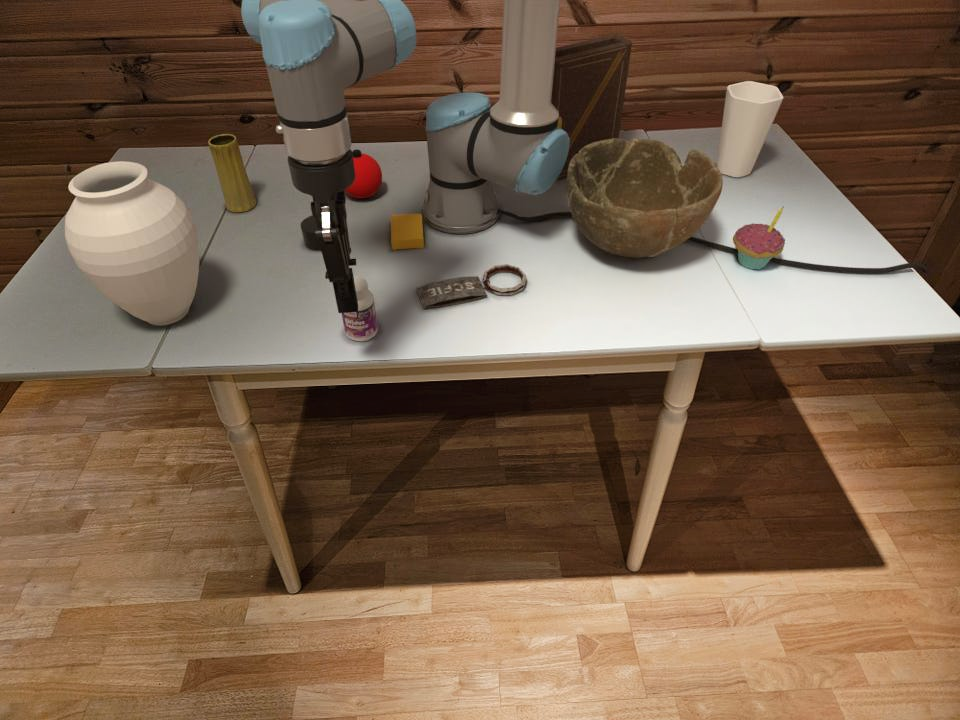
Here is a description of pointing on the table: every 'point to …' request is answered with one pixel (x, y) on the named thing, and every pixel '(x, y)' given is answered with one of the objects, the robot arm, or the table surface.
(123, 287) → the vase
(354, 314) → the pill bottle
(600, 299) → the table surface
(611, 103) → the book
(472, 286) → the keychain
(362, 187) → the ornament
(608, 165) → the bowl
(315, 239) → the metal tin
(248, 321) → the table surface
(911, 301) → the table surface
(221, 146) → the vase
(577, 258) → the table surface
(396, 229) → the orange rectangular block
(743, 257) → the cupcake
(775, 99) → the cup
